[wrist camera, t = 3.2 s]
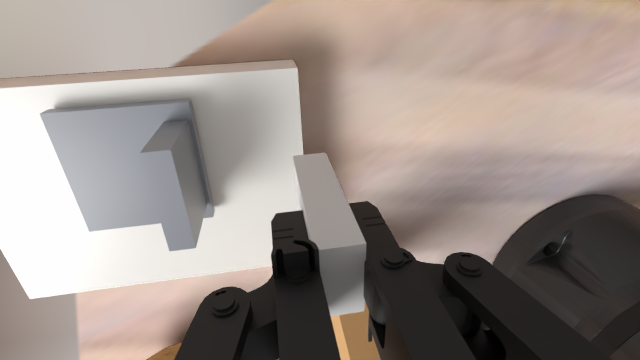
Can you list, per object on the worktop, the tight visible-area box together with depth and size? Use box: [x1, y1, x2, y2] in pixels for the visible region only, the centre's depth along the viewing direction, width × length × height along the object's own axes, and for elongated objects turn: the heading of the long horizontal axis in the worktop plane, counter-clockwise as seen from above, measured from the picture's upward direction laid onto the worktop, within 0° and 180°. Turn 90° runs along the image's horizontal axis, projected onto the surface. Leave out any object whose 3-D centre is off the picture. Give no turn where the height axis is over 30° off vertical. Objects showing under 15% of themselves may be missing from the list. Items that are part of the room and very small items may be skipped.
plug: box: [331, 302, 381, 360], centre depth 23 cm, size 4×4×12 cm
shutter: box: [40, 98, 215, 251], centre depth 17 cm, size 7×7×5 cm
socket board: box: [0, 59, 303, 299], centre depth 22 cm, size 18×13×3 cm
